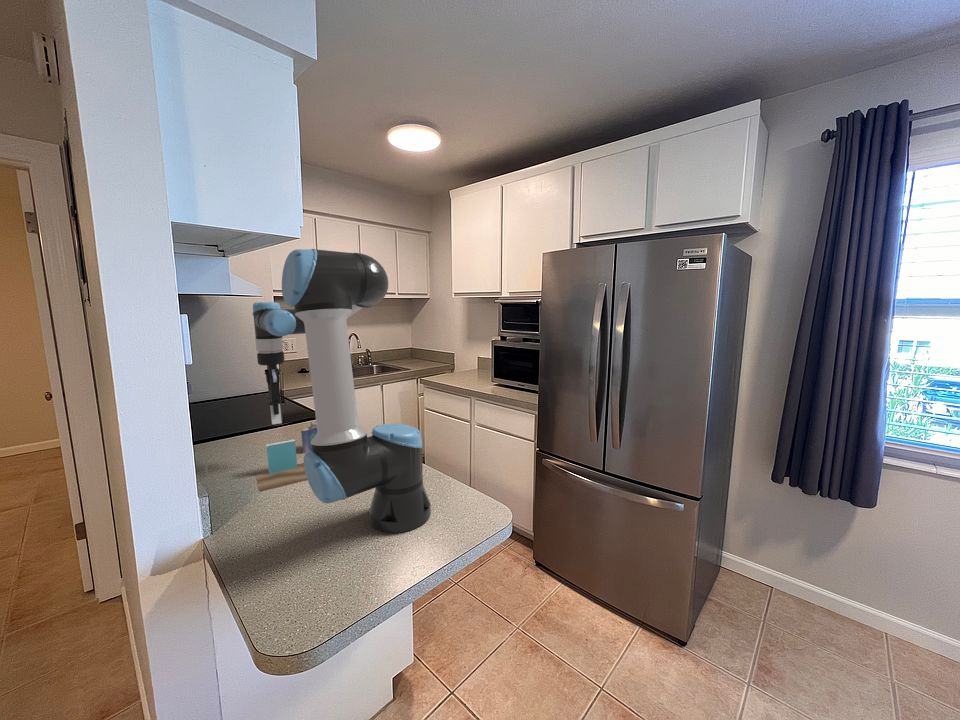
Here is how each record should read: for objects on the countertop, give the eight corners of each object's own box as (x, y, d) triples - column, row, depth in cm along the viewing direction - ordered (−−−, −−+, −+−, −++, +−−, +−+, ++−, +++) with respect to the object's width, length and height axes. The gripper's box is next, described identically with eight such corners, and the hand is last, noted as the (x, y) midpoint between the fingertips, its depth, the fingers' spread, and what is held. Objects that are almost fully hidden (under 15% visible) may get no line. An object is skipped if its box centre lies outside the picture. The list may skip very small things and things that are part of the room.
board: (316, 479, 117) (316, 477, 117) (259, 493, 108) (259, 491, 108) (307, 463, 128) (307, 462, 128) (255, 475, 120) (255, 473, 120)
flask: (305, 455, 135) (303, 426, 134) (300, 453, 137) (298, 424, 135) (328, 447, 143) (326, 419, 141) (323, 445, 144) (321, 418, 143)
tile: (297, 467, 124) (295, 441, 122) (269, 474, 119) (266, 446, 118) (296, 465, 125) (294, 439, 124) (268, 471, 121) (266, 444, 120)
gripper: (286, 353, 118) (292, 426, 122) (280, 348, 129) (286, 416, 133) (258, 355, 114) (265, 431, 118) (255, 350, 125) (261, 419, 129)
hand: (276, 423), depth 125 cm, fingers closed
